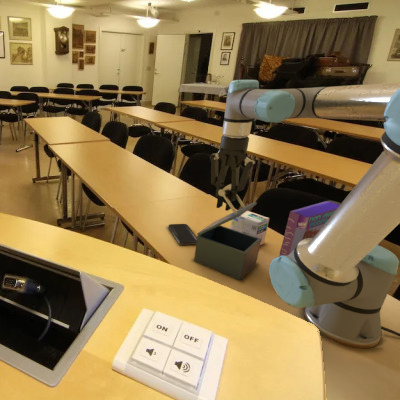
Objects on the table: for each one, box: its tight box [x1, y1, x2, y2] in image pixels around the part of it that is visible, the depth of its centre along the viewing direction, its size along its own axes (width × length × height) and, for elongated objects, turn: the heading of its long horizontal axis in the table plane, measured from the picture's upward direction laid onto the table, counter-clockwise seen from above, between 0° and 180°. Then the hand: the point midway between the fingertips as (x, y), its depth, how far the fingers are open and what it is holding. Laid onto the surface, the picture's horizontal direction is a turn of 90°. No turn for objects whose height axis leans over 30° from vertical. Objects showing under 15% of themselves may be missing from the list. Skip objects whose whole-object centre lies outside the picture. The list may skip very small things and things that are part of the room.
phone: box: [168, 223, 197, 246], centre depth 127 cm, size 8×1×15 cm
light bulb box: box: [229, 210, 270, 246], centre depth 120 cm, size 11×7×11 cm, turn 32°
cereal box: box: [278, 199, 342, 257], centre depth 95 cm, size 17×5×24 cm, turn 114°
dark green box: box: [193, 225, 261, 281], centre depth 107 cm, size 16×13×10 cm
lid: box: [196, 183, 258, 236], centre depth 105 cm, size 16×13×10 cm
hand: (223, 207), depth 104 cm, fingers closed on lid, 2 cm apart
